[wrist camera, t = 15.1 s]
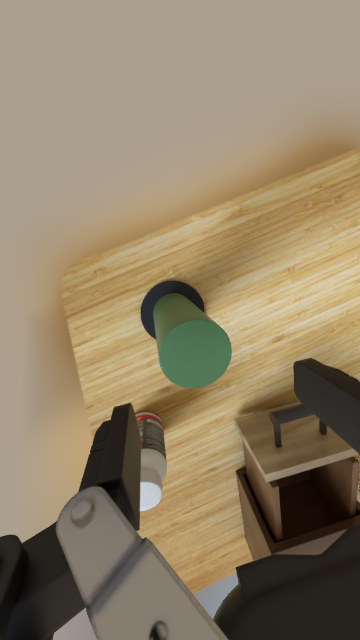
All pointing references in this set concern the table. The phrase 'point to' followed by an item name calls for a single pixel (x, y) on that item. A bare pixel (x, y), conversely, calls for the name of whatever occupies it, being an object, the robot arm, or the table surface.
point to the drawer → (297, 470)
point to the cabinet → (297, 545)
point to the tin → (189, 343)
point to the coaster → (161, 291)
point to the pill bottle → (151, 459)
